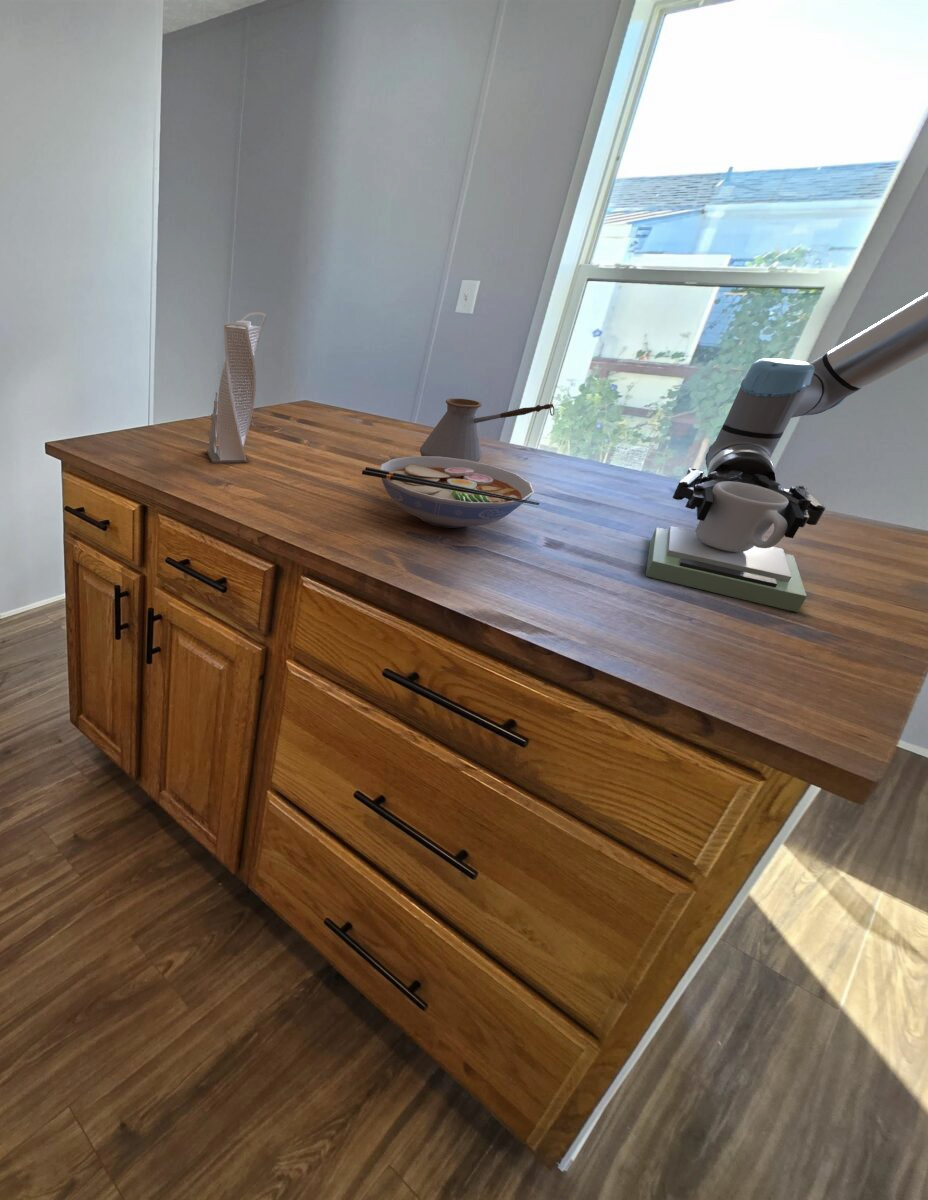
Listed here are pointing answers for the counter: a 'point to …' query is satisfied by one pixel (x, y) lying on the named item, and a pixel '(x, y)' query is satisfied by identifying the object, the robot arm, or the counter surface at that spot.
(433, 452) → the coffee pot
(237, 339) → the skyscraper
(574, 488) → the counter surface
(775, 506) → the cup
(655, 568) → the scale
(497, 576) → the counter surface
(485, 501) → the ramen bowl
